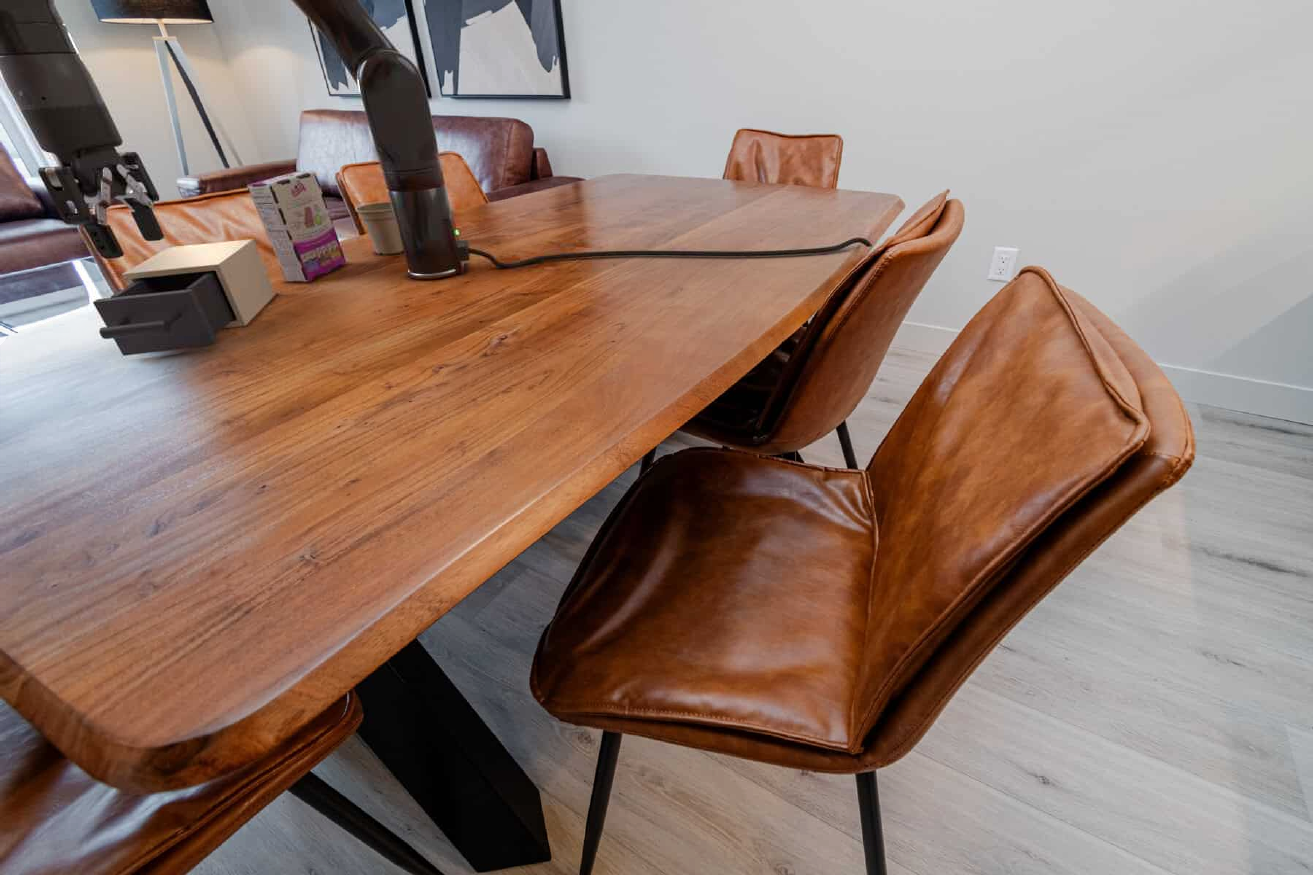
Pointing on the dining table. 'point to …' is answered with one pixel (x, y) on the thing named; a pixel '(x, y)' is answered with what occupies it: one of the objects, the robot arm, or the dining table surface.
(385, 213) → the flower pot
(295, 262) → the candy bar box
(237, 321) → the cabinet
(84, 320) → the dining table surface
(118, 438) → the dining table surface
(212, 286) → the drawer
